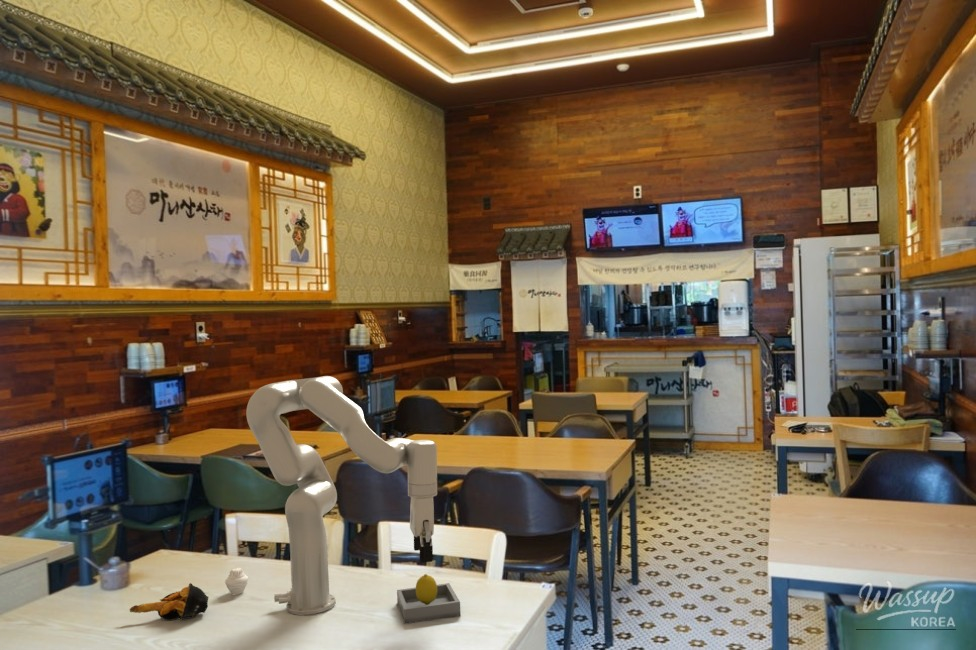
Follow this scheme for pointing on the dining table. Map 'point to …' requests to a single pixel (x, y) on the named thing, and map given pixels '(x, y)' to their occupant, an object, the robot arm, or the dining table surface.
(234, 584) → the white vase
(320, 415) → the robot arm
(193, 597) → the fried shrimp in bowl
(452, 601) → the tray
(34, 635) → the dining table surface
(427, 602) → the lemon
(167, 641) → the dining table surface
